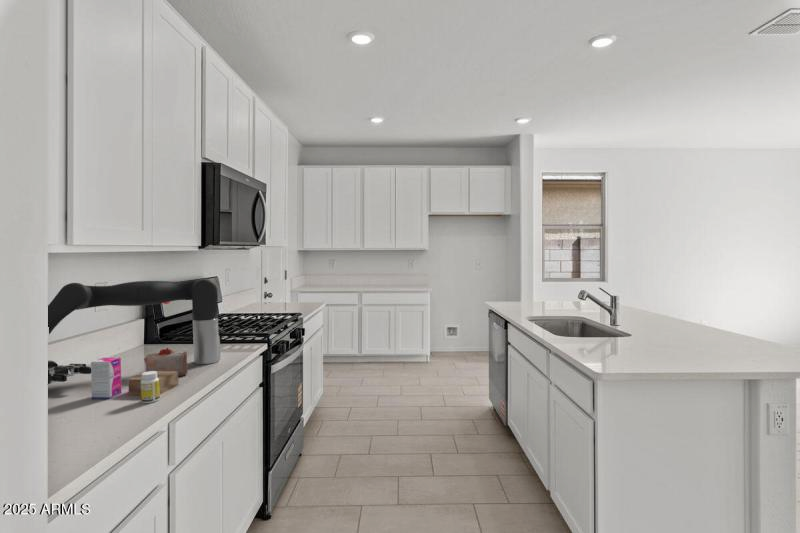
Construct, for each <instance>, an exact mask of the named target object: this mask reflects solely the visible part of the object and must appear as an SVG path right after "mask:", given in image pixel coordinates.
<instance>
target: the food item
mask: <svg viewBox="0 0 800 533" xmlns="http://www.w3.org/2000/svg"><path fill="white" fill-rule="evenodd" d="M187 353H188V352H187V351H185V350H179V351H177V350H176V351H173V350H172V349H170V348H169V347H166V348H165V349H164V348H163V349H160V350H159V352H156V353H150V354H147V355H146V356H145V357H144V358H143V360H144V363H145V372H148V371H178V377H184V376H187V374H188V354H187Z"/></svg>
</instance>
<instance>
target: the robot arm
mask: <svg viewBox="0 0 800 533" xmlns="http://www.w3.org/2000/svg"><path fill="white" fill-rule="evenodd" d="M218 297H219V295H218V287H217V284H216V283H215V282H214V281H213V280H211V279H209V278H198V279H193V280H184V281H169V280H168V281H166V280H140V281H139V280H137V281H128V282H122V283H117V284H112V285H85V284H82V283H79V282H71V283H67V284H65V285H64V286H62V287H61V289H60V290H59V291H58V292H57V293H56V295H55V297H53V299H52V300H51V302H49V304H47V306H48V327H49V335H50V334H51V333H52V332H53V331H54V329H55V328H57V326H58V325H59V324H60V323H61V322H62V321H63V319H65V318H66V317H67V316H69V315H70V314H71V313H73V312H74V311H77V310H83V309H90V308H97V307H105V306H119V307H127V306H128V307H132V306H133V307H138V306H151V305H154V306H155V305H159V304H160V305H161V304H165V303H169V302H175V301H176V302H177V301H191V304H192V305H191V306H192V308H191V309H192V310H191V311H192V335H193V338H192V340H193V360H194V361H193V363H194V364H195V365H211V364H214V363H218V362H220V360H221V338H220V337H221V336H220V335H219V298H218ZM80 374H82V375H90V374H91V366H87V364H86V363H69V364H68V365H63V364H60V365H58V364H57V362H55V361H53V360H48V384H47V385H50V384H51V383H54V382H59V383H60V382H61V383H65V382H67V381H68V377H69V378H70V377H73V376H75V375H80Z"/></svg>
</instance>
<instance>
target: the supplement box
mask: <svg viewBox="0 0 800 533" xmlns="http://www.w3.org/2000/svg"><path fill="white" fill-rule="evenodd" d="M121 360H122V358H121V357H101V358H99V359H96V360H92V361H90V367H91V375H90V376H91V380H90V381H91V383H90V384H91V400H111V399H112V398H114V397H116V396H119V395H120V394H122V361H121Z"/></svg>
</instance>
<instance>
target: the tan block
mask: <svg viewBox="0 0 800 533" xmlns="http://www.w3.org/2000/svg"><path fill="white" fill-rule="evenodd" d="M148 372H149V371H148ZM156 372H157V378H158V379H159V391H160V395H162V394H165V393H166V392H169V391H170V390H173V389H174V388H176V387H178V386H179V376H178V371H156ZM141 380H143V379H142V373H141V374H138V375H136V376H134V377H131V378H129V379H128V380H127V381H128V395H131V396H132V395H133V396H134V395H135V396H138V395H139V396H141Z"/></svg>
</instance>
